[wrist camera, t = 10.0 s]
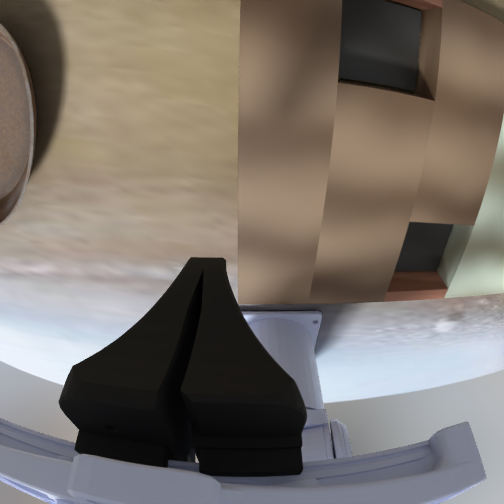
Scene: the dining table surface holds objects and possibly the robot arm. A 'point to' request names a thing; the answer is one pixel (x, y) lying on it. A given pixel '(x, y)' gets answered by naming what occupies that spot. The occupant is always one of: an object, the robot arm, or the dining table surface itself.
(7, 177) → the plant saucer
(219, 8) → the dining table surface
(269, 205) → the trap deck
